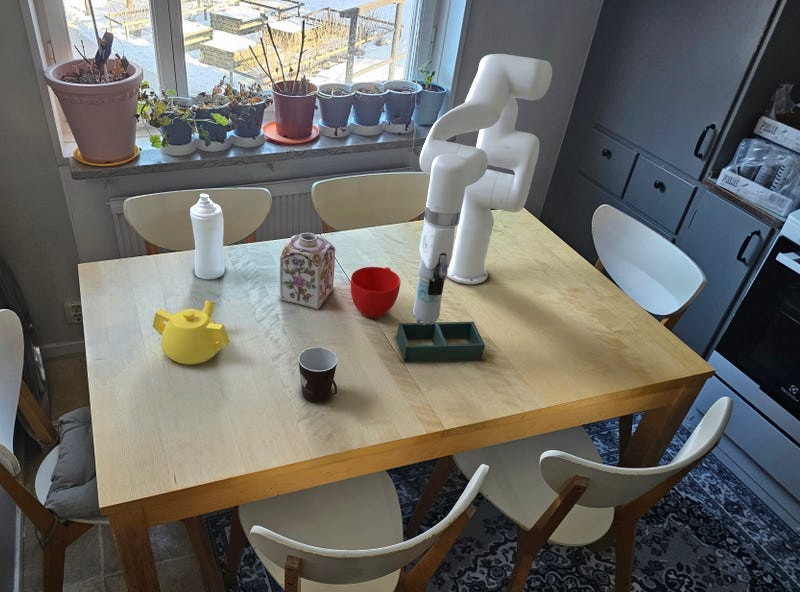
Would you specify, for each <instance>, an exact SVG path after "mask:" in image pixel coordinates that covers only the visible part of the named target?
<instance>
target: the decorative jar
mask: <svg viewBox="0 0 800 592" xmlns="http://www.w3.org/2000/svg"><path fill="white" fill-rule="evenodd" d="M335 265H336V247H335V246H334V245H333V244H332V243H331V242H330V241H329V240H328V239H326V237H324V236H321V235H317V234H315V233H314V232H313V233H312V232H303V233H300V234H296V235H292V236H291V237H290V238H289V239H287V241H286V242H285V244H284V246H283V249H282V251H281V253H280V256H279V299H280V300H281V301H285V302H289V303H292V304H296V305H300V306H303V307H308V308H312V309H317V310H318V309H319V308H320V307H321V305H322V304H323V303H324V301H325V300H326V299H327V298H328V296H329V295H330V293H331V292H332V291H333V290H334V283H335V281H334V280H335Z"/></svg>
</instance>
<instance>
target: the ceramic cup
mask: <svg viewBox="0 0 800 592" xmlns="http://www.w3.org/2000/svg"><path fill="white" fill-rule="evenodd" d="M401 283H402V282H401V278H400V276H399V274H397V273H396V272H395V271H393V270H391V268H390V267H389V266H388V267H387V266H386V267H381V266H365V267H361V268H359V269H356V270H354V272H353V273H352V274H351V276H350V294H351V299H352V303H353V304H354V306H355V308H356V309H357V310H358V311H359V313H360V314H361V315H362V316H364V317H366V318H370V319H378V318H380V317H381V318H382V316H384V315H386V314H387V313H388V312H389V311H390V310H391V309H392V308H393V307H394V305H395V303H396V301H397V298H398V296H399V293H400V288H401Z"/></svg>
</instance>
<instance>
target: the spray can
mask: <svg viewBox="0 0 800 592" xmlns="http://www.w3.org/2000/svg"><path fill="white" fill-rule="evenodd" d="M199 197H200V198H199V200H198V201H197V203H196V204H193V205H192V206H191V207H190V211H189V215H190V220H191V225H192V232H193V240H194V275H195V276H196V277H198V278H199V279H203V280H216V279H219V278H221V277H222V276H223V275H224V273H225V266H226V265H225V264H226V263H225V251H224V229H225V227H224V225H225V220H224V215H223V211H222V207H221V206H220V205H219V204H217V203H214V202H213V201H212V200H211V198H210V196H209V194H206V193H200V194H199Z"/></svg>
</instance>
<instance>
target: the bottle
mask: <svg viewBox="0 0 800 592" xmlns="http://www.w3.org/2000/svg"><path fill="white" fill-rule="evenodd" d="M420 259H421V260H420V262H419V265H418V269H417V270H418V272H417V276H418V281H417V288H416V295H415V299H414V303H413V308H412V317H413V318H414V320H415V323H423V325H426V324H427V323H429V324H430V325H432V324H434V323H435V322H438V320H439V318H440V313H441V312H440V311H441V305H442V297H443V292H444V289H443V290H442V294H441V295H428V287H429V281H430V279H431V277H432V269H428V268H427V267H426V265H425V263H424V260H423V258H422V257H421V258H420ZM435 267H439V264H437V265H436V266H435ZM439 271H440V270H435V275H436V274H439ZM447 274H448V269H447ZM447 278H448V277H447V276H446V277H445V281H446V280H447ZM444 286H445V283H444V284H443V288H444Z"/></svg>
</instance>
